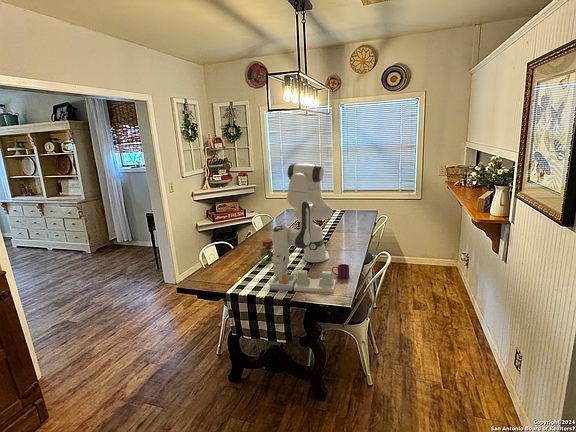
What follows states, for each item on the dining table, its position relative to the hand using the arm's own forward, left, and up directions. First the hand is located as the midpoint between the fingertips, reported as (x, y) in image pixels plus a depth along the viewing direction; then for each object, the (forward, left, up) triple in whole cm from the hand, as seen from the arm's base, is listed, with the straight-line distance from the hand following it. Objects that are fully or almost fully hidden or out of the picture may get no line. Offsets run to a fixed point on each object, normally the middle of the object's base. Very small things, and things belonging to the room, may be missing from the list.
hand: (283, 276), depth 186 cm
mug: (-15, +31, -5) cm, 35 cm away
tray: (0, 0, -5) cm, 5 cm away
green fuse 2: (0, +25, -3) cm, 26 cm away
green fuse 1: (0, +11, -3) cm, 12 cm away
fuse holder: (0, +18, -5) cm, 19 cm away
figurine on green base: (-37, -21, -5) cm, 43 cm away
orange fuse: (0, 0, -4) cm, 4 cm away
